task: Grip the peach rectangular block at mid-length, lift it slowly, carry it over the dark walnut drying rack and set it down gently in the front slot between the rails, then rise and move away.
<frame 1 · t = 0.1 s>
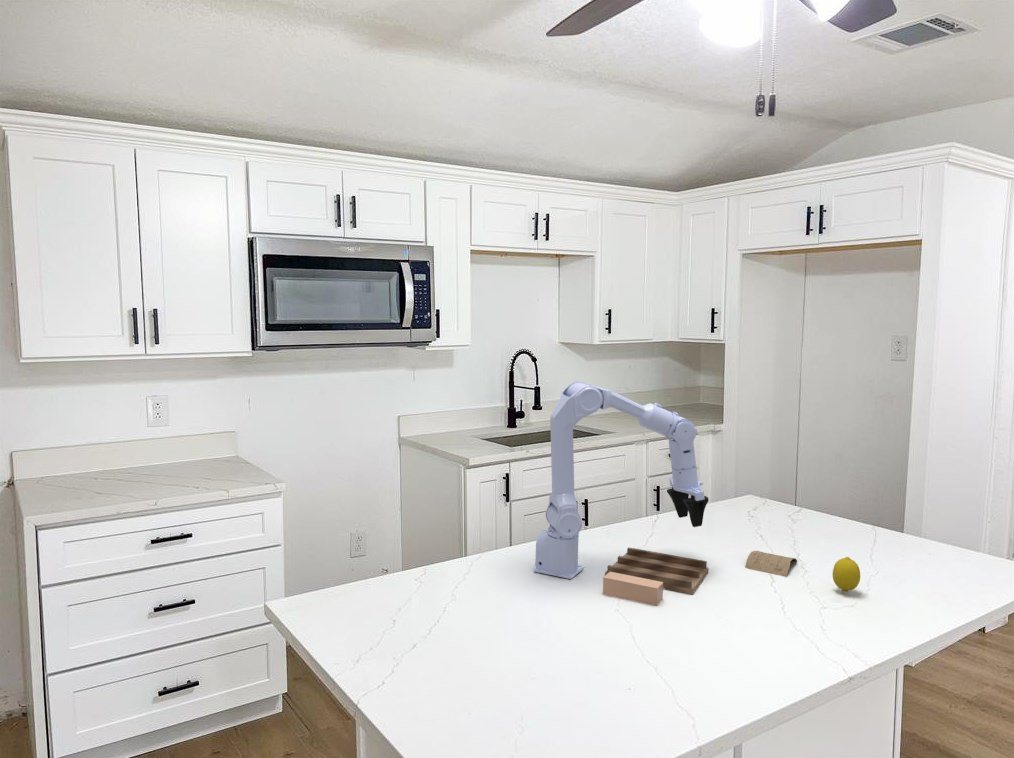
hand: (690, 521, 179), 11 cm above the counter, tool pointing down, fingers open, 7 cm apart
lemon: (845, 593, 165), on the counter
rack: (657, 575, 173), on the counter
peach rectangular block: (632, 597, 160), on the counter
clay tablet: (770, 567, 181), on the counter
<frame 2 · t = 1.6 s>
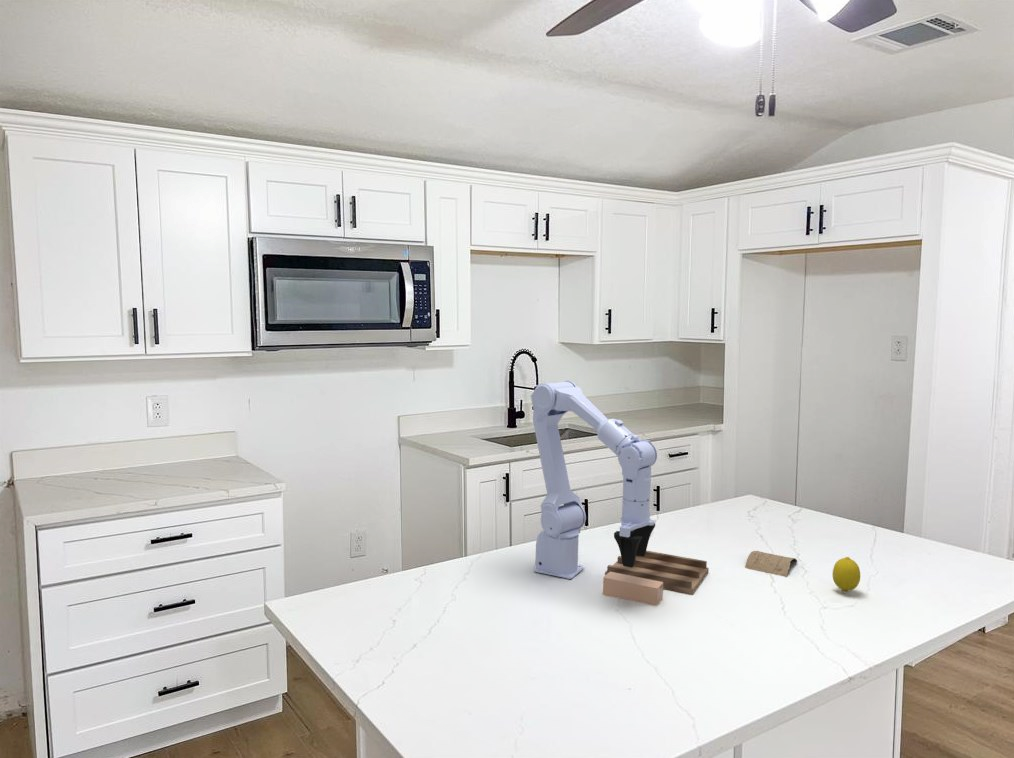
hand: (634, 560, 159), 8 cm above the counter, tool pointing down, fingers open, 7 cm apart
nothing on the counter moved.
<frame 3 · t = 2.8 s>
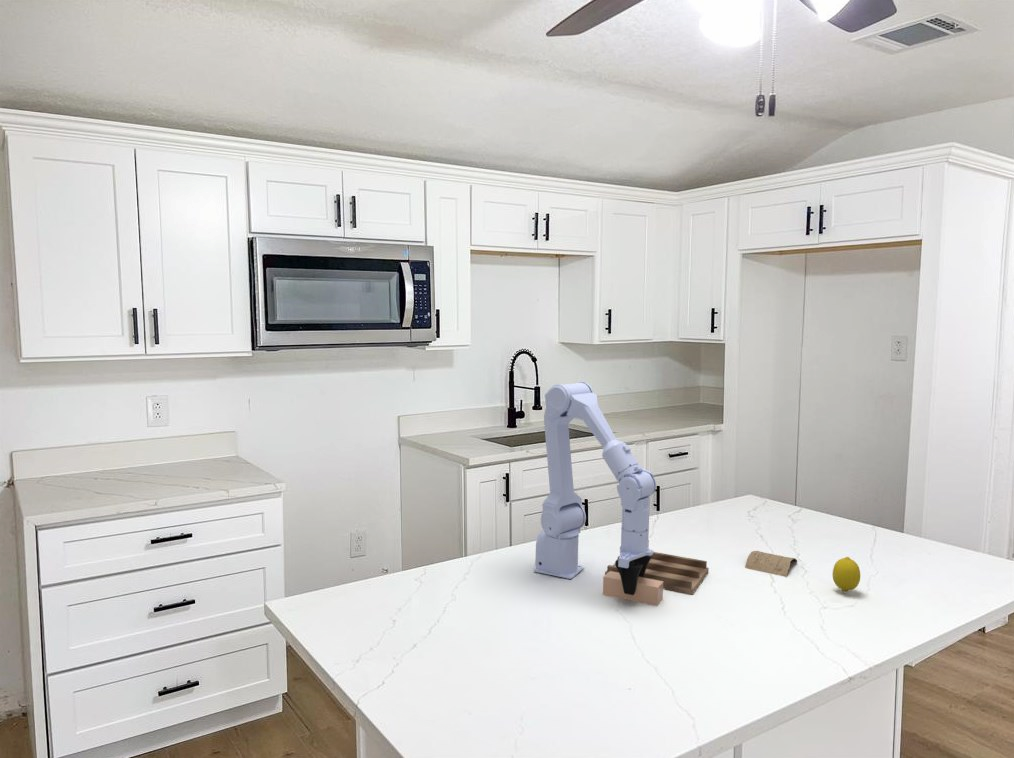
hand: (632, 590, 160), 1 cm above the counter, tool pointing down, fingers closed on peach rectangular block, 4 cm apart
peach rectangular block: (632, 597, 160), on the counter, touching gripper
everything else where it was.
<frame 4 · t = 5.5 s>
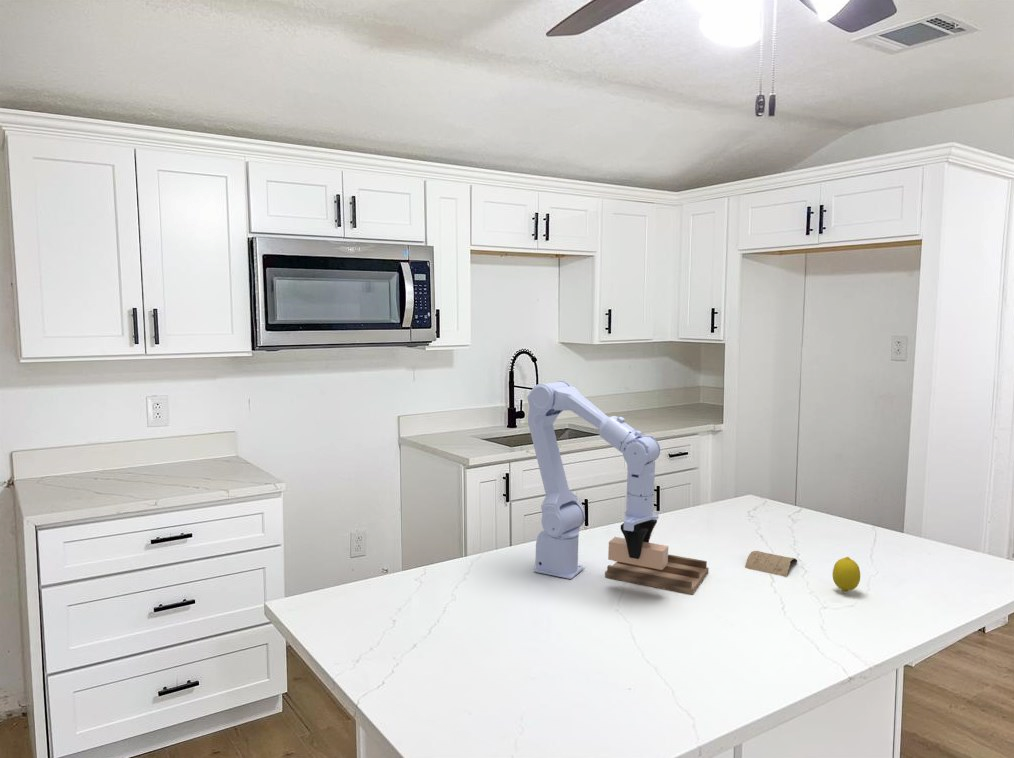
hand: (637, 554, 162), 8 cm above the counter, tool pointing down, fingers closed on peach rectangular block, 4 cm apart
peach rectangular block: (637, 561, 162), point 7 cm above the counter, touching gripper
everything else where it was.
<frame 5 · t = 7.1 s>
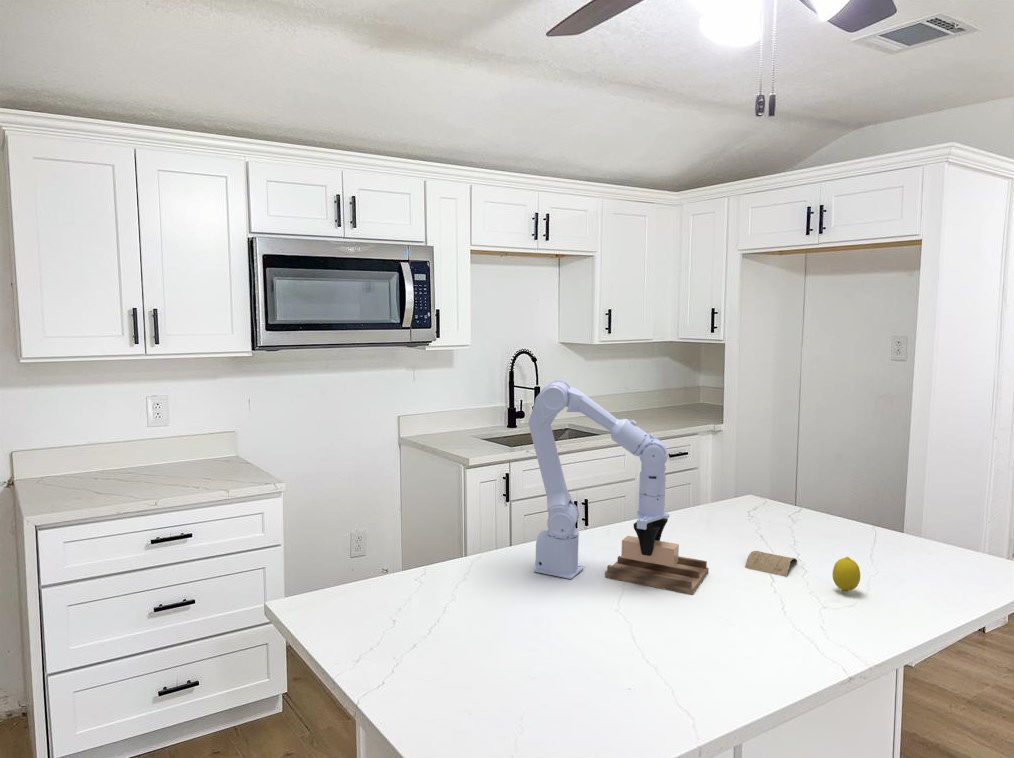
hand: (649, 552, 169), 6 cm above the counter, tool pointing down, fingers closed on peach rectangular block, 4 cm apart
peach rectangular block: (649, 559, 170), point 5 cm above the counter, touching gripper
everything else where it was.
when the fingers open (4 cm above the counter, at t = 8.4 s): peach rectangular block stays where it is, resting on rack.
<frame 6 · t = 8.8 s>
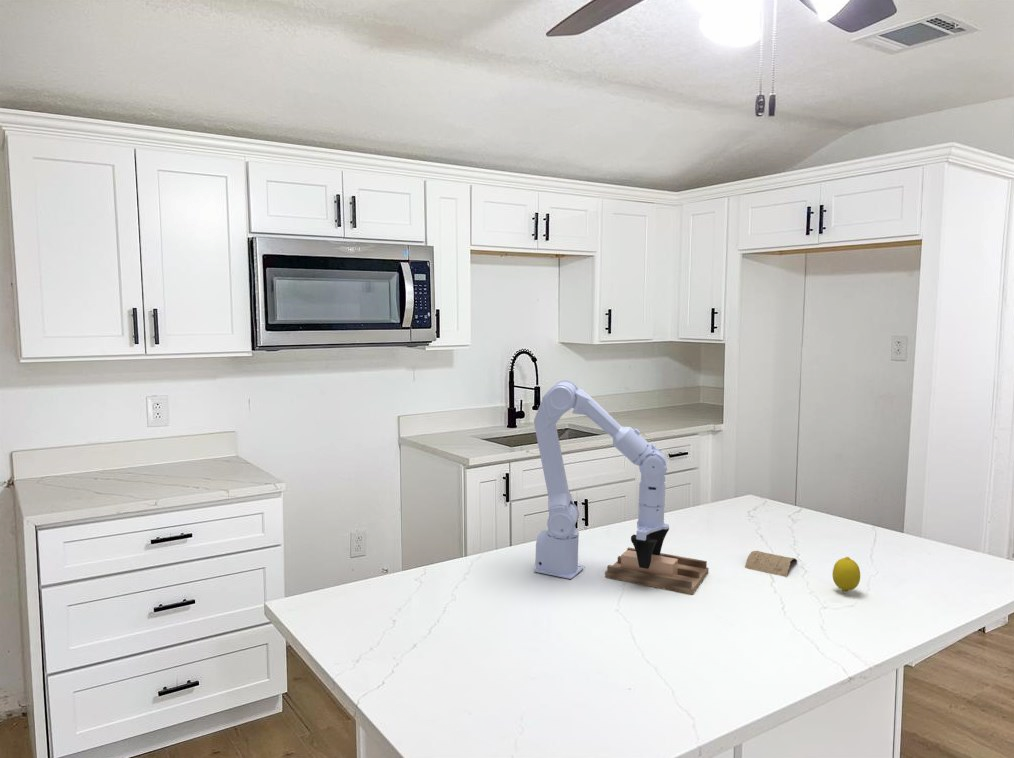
hand: (649, 562, 170), 4 cm above the counter, tool pointing down, fingers open, 7 cm apart
peach rectangular block: (648, 574, 170), point 1 cm above the counter, touching rack
everything else where it was.
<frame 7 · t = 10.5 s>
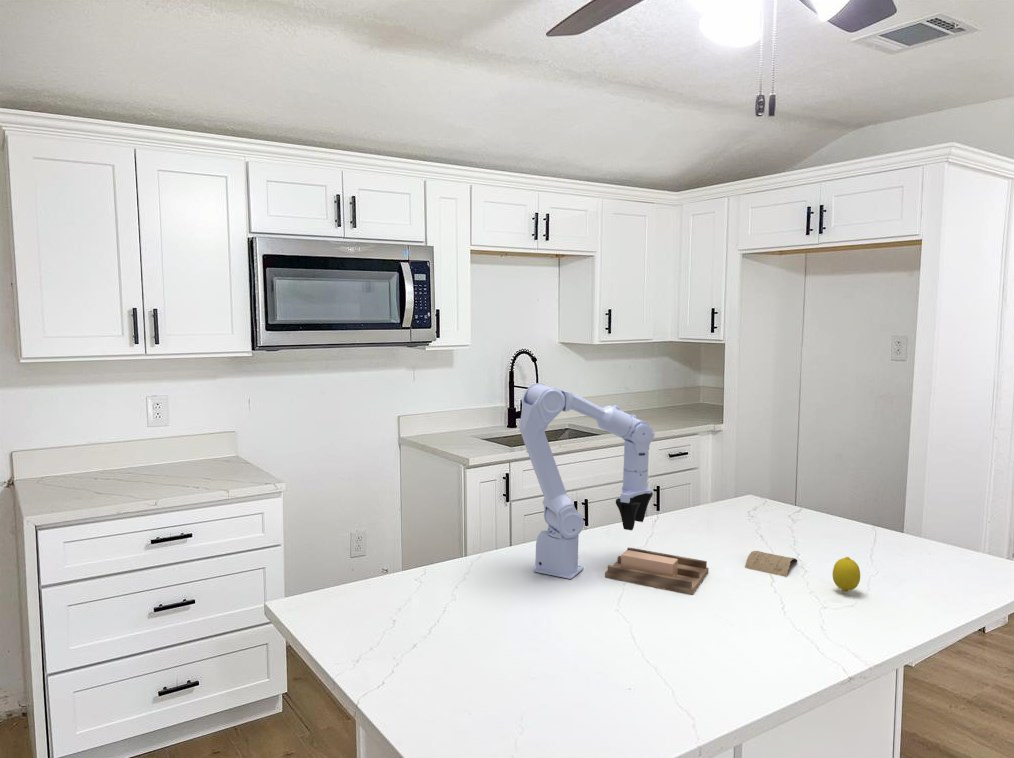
hand: (633, 525, 179), 9 cm above the counter, tool pointing down, fingers open, 7 cm apart
nothing on the counter moved.
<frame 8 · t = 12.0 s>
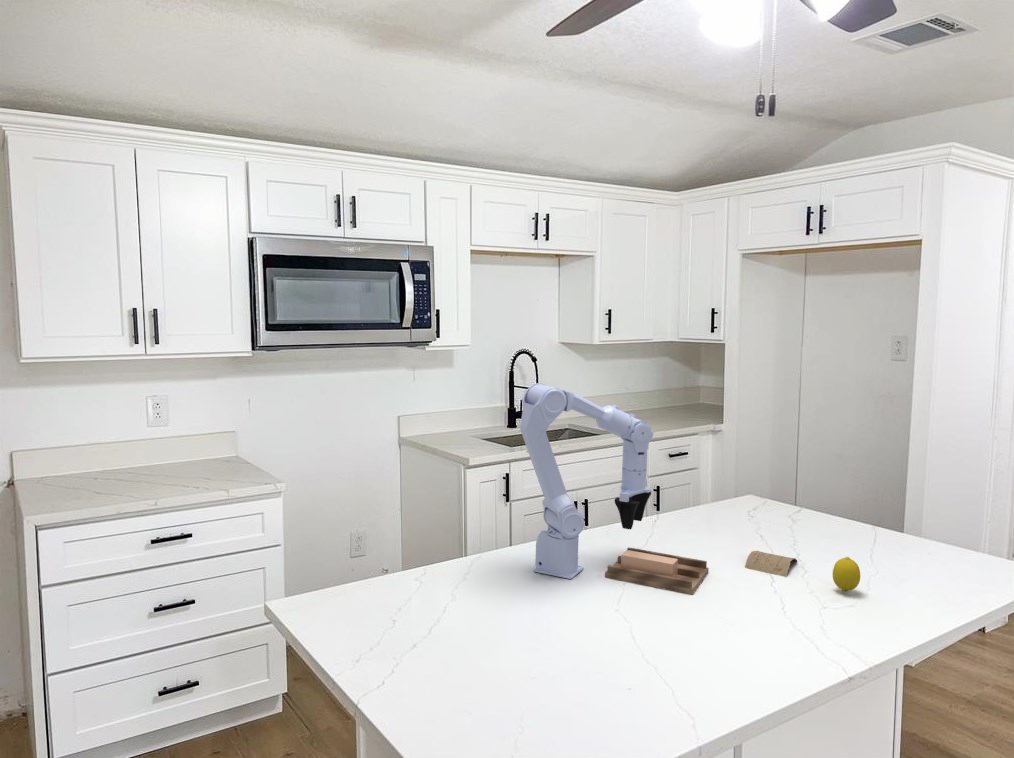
hand: (632, 524, 180), 9 cm above the counter, tool pointing down, fingers open, 7 cm apart
nothing on the counter moved.
at the end: peach rectangular block 0.0 cm from the target spot on the rack, point 1.2 cm above the rack's base; peach rectangular block tilted 0°; the gripper is holding nothing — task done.
